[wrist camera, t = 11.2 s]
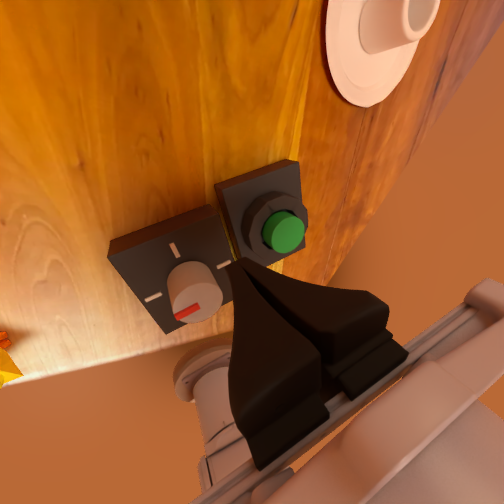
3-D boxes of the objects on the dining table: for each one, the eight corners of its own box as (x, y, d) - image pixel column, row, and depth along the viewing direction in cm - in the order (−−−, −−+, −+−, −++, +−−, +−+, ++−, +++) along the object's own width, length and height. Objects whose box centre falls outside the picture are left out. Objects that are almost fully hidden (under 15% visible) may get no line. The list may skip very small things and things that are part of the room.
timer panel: (235, 279, 26) (245, 294, 24) (162, 314, 24) (166, 336, 21) (208, 203, 20) (219, 213, 18) (110, 240, 18) (106, 258, 16)
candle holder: (373, 126, 25) (411, 126, 21) (298, 65, 18) (335, 50, 15) (437, -6, 21) (496, -33, 17) (370, -144, 14) (443, -228, 11)
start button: (295, 237, 22) (306, 244, 21) (265, 251, 21) (274, 259, 20) (291, 205, 20) (303, 210, 19) (258, 219, 19) (268, 226, 18)
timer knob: (202, 253, 19) (215, 276, 16) (216, 285, 21) (230, 310, 18) (158, 273, 18) (163, 302, 15) (178, 304, 20) (185, 334, 17)
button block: (295, 240, 27) (315, 254, 24) (239, 266, 25) (254, 285, 22) (286, 158, 22) (311, 163, 19) (213, 184, 20) (228, 195, 17)
